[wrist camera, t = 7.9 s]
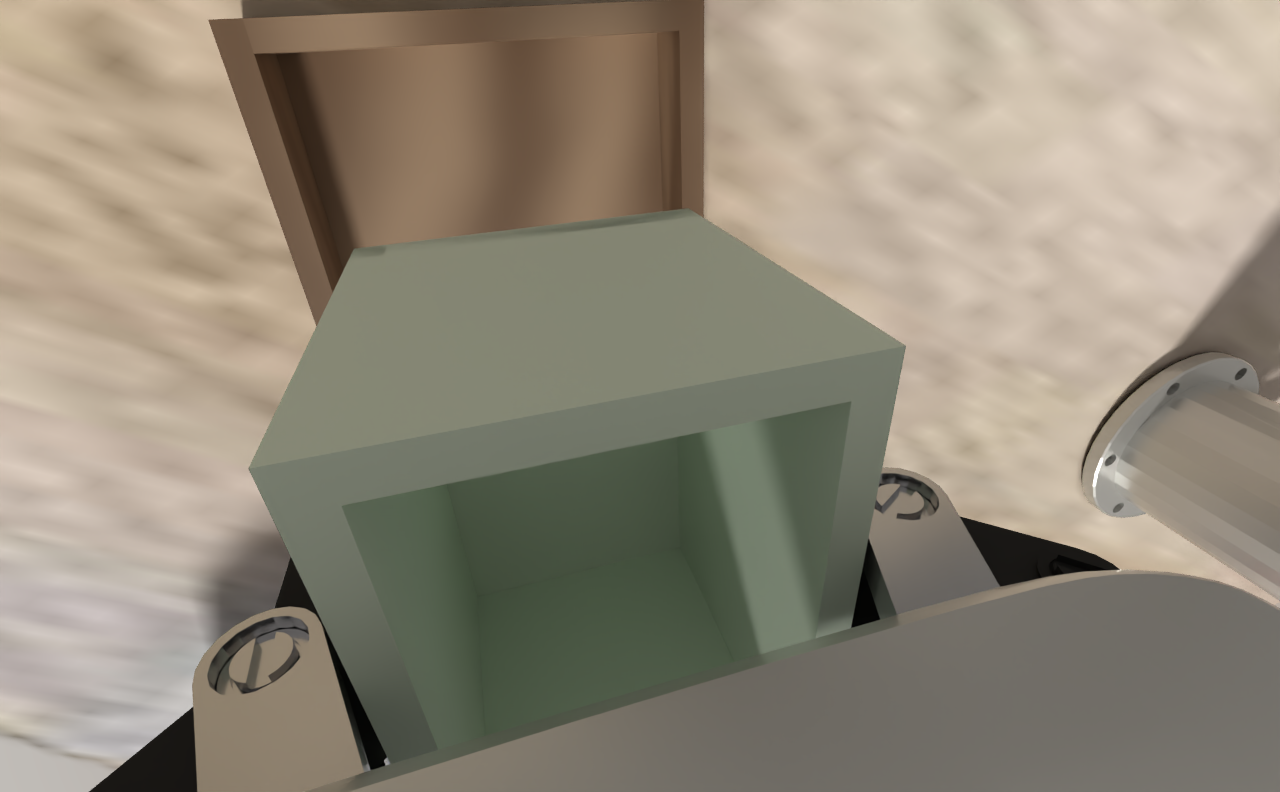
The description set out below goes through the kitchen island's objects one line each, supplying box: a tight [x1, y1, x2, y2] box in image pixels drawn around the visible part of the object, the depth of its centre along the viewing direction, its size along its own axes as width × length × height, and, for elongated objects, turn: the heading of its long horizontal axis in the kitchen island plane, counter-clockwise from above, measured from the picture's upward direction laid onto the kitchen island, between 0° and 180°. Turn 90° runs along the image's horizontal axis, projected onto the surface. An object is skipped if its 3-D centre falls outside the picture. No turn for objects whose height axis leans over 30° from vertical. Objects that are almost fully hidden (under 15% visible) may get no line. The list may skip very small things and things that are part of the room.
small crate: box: [249, 208, 906, 764], centre depth 10 cm, size 6×8×6 cm
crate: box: [209, 0, 704, 326], centre depth 22 cm, size 14×16×3 cm
